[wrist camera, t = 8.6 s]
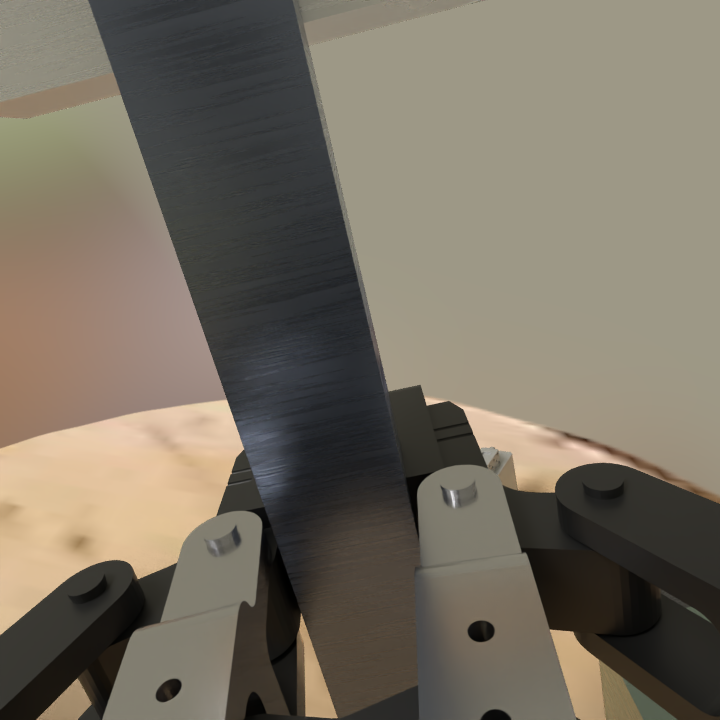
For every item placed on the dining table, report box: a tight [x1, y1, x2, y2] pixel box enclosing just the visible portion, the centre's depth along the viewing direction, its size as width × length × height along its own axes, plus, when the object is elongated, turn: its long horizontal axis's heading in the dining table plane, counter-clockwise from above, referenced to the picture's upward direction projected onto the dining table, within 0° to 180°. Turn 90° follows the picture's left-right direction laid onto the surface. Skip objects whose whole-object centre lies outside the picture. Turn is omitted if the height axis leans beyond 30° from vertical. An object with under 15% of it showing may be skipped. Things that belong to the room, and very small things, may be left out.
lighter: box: [480, 447, 518, 490], centre depth 35 cm, size 7×2×8 cm, turn 146°
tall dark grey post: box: [88, 0, 421, 718], centre depth 10 cm, size 6×2×20 cm, turn 1°
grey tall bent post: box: [0, 0, 710, 720], centre depth 15 cm, size 16×18×28 cm
